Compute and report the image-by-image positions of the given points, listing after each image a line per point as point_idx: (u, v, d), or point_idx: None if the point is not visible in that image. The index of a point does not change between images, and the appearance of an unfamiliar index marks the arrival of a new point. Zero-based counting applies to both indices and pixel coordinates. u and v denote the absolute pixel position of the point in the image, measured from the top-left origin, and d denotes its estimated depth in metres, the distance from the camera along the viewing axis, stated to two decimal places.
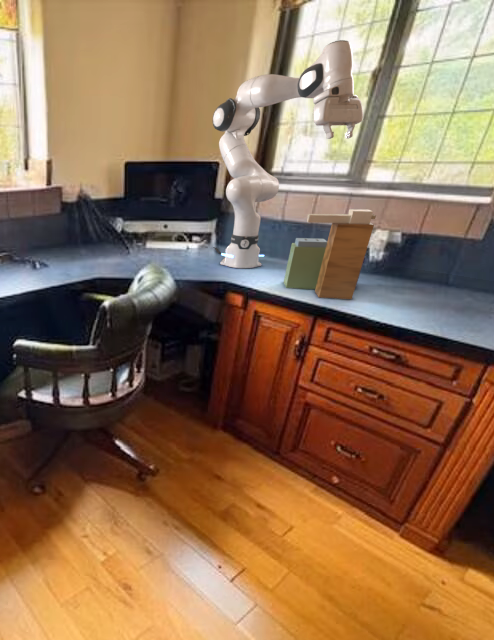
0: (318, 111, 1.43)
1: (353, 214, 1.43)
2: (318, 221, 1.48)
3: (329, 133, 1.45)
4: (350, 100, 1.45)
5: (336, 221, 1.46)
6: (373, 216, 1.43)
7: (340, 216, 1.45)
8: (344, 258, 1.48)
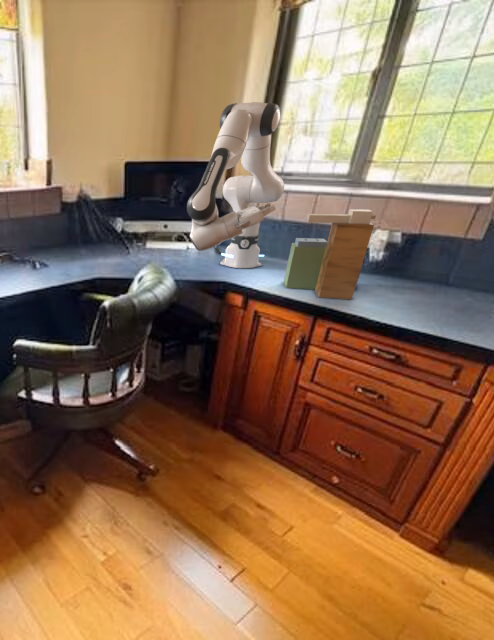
0: None
1: (353, 214, 1.43)
2: (318, 221, 1.48)
3: None
4: None
5: (336, 221, 1.46)
6: (373, 216, 1.43)
7: (340, 216, 1.45)
8: (344, 258, 1.48)
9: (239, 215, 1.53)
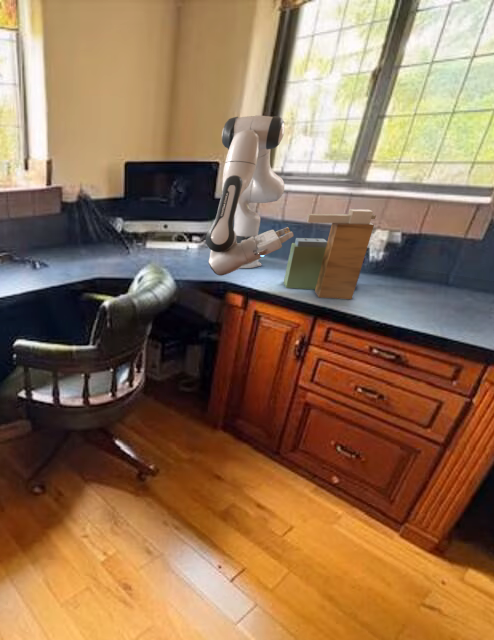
0: None
1: (353, 214, 1.43)
2: (318, 221, 1.48)
3: None
4: None
5: (336, 221, 1.46)
6: (373, 216, 1.43)
7: (340, 216, 1.45)
8: (344, 258, 1.48)
9: (257, 241, 1.55)
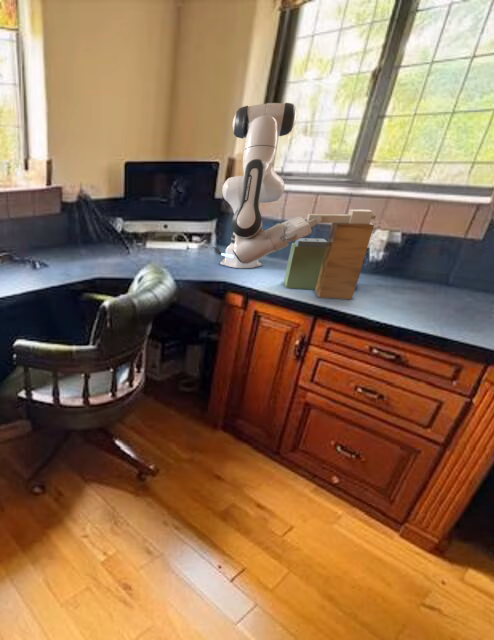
0: None
1: (353, 214, 1.43)
2: None
3: None
4: None
5: (336, 221, 1.46)
6: (373, 216, 1.43)
7: (340, 216, 1.45)
8: (344, 258, 1.48)
9: (285, 227, 1.51)
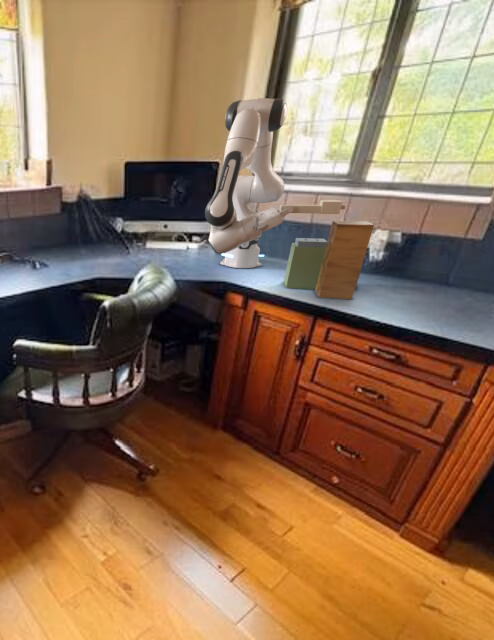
0: None
1: (323, 204, 1.46)
2: None
3: None
4: None
5: (307, 211, 1.49)
6: (343, 206, 1.46)
7: (311, 206, 1.48)
8: (344, 258, 1.48)
9: (258, 218, 1.54)
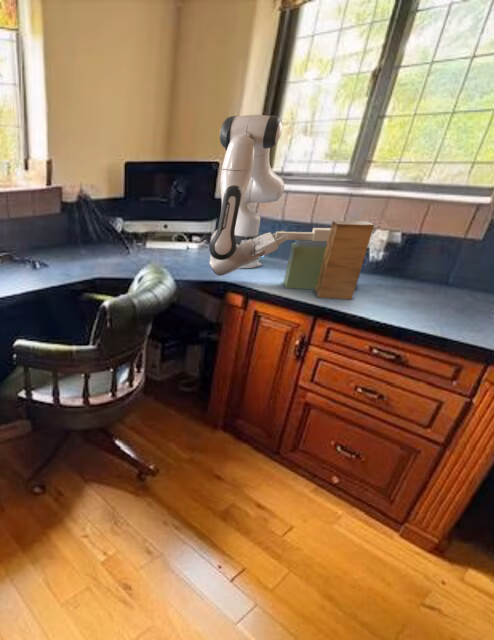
0: None
1: (315, 232, 1.58)
2: None
3: None
4: None
5: (301, 238, 1.61)
6: None
7: (304, 234, 1.60)
8: (344, 258, 1.48)
9: (255, 243, 1.66)
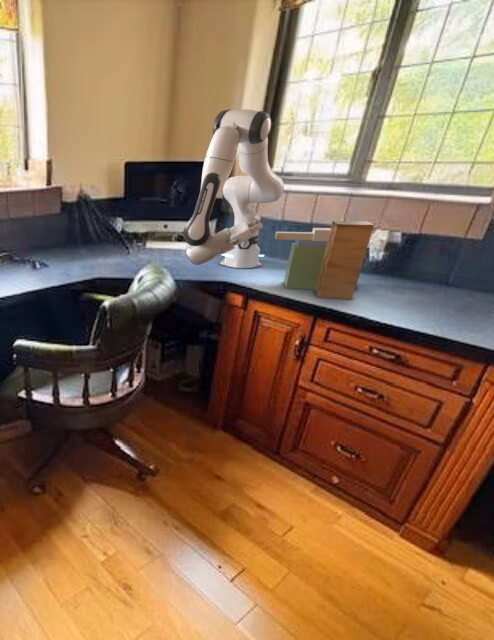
0: None
1: (315, 232, 1.58)
2: (285, 238, 1.63)
3: None
4: None
5: (301, 238, 1.61)
6: None
7: (304, 234, 1.60)
8: (344, 258, 1.48)
9: (230, 232, 1.67)
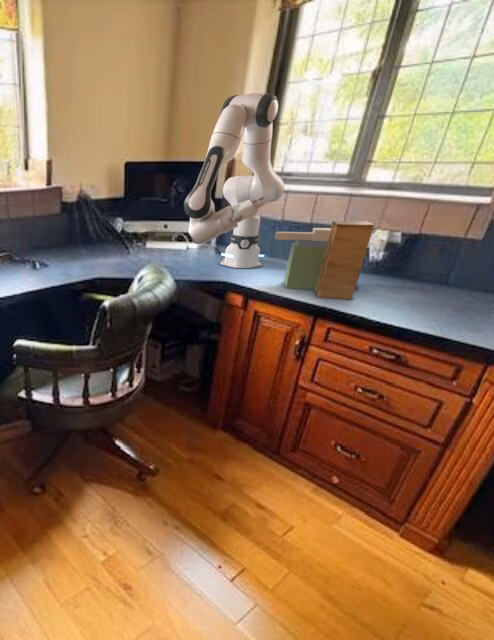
0: None
1: (315, 232, 1.58)
2: (285, 238, 1.63)
3: None
4: None
5: (301, 238, 1.61)
6: None
7: (304, 234, 1.60)
8: (344, 258, 1.48)
9: (233, 209, 1.62)
